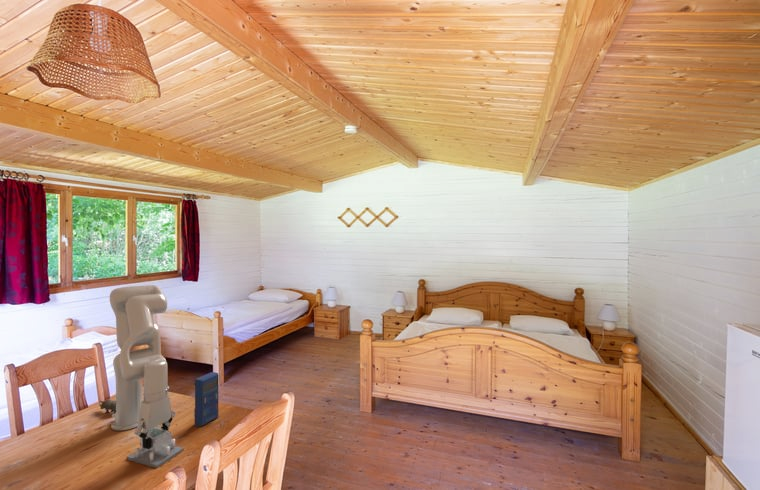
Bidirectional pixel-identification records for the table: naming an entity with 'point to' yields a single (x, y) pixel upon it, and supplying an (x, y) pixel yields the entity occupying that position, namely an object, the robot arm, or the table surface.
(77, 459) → the table surface
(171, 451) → the grey pegged base plate
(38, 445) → the table surface
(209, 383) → the electronic device
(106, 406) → the rhino figurine
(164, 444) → the drive
